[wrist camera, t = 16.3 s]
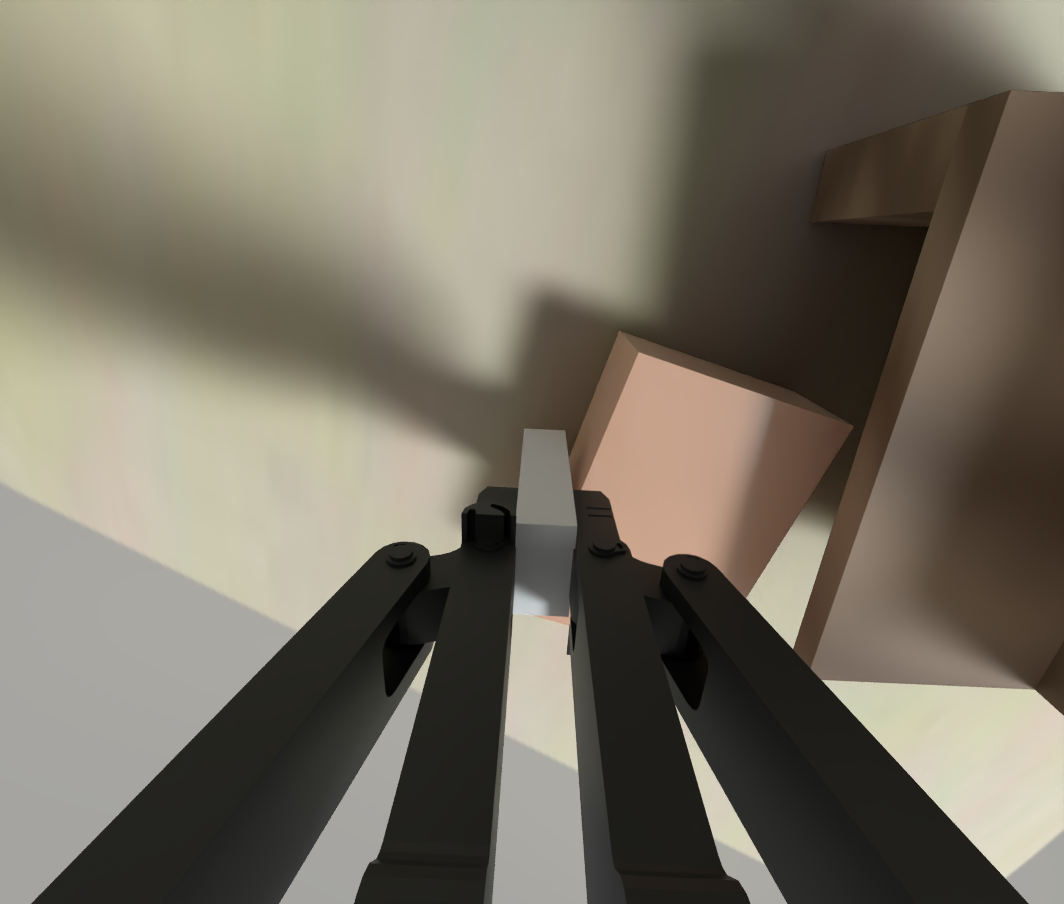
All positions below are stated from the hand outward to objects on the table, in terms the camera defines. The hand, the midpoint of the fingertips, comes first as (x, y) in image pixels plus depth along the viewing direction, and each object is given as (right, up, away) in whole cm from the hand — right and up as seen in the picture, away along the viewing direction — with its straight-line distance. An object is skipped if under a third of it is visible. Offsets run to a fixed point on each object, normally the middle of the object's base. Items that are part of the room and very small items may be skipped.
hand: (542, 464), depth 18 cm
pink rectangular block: (+5, -1, +2) cm, 5 cm away
